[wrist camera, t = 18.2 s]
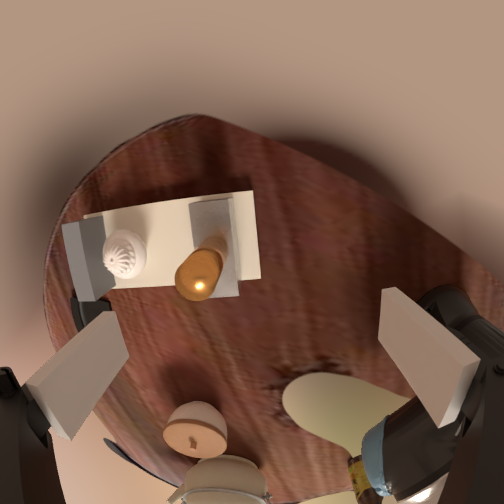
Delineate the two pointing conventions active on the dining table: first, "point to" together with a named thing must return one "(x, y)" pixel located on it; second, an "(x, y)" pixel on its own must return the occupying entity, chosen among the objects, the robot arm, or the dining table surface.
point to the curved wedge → (87, 311)
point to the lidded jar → (196, 430)
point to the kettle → (223, 482)
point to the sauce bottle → (362, 483)
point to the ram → (211, 252)
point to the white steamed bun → (124, 254)
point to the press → (151, 243)
